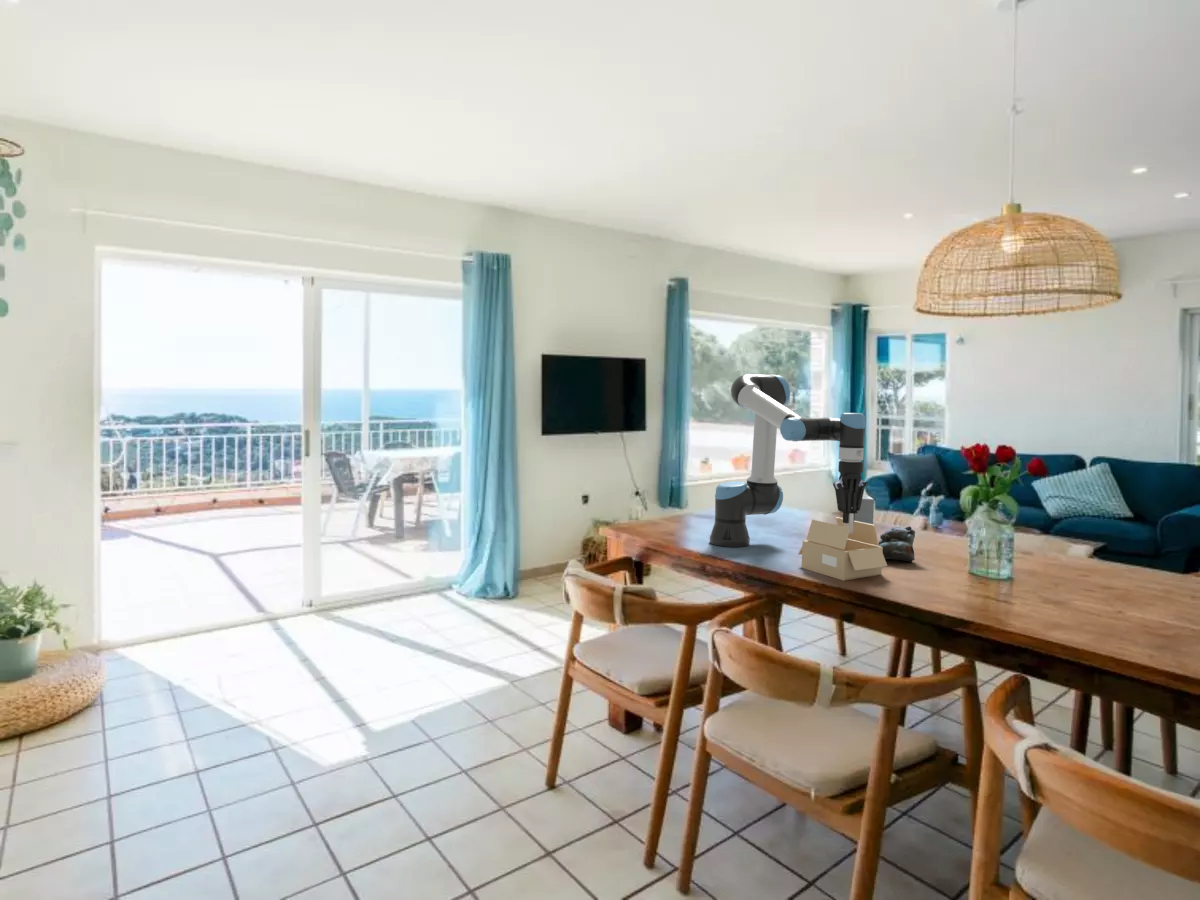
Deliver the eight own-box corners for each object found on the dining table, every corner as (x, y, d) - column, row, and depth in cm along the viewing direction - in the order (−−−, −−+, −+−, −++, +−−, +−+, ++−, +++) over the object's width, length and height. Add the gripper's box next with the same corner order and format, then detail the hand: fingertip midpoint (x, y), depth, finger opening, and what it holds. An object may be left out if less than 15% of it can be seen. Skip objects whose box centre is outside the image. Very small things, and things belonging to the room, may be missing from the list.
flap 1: (807, 540, 232) (806, 539, 232) (812, 519, 233) (812, 519, 232) (844, 549, 218) (843, 549, 218) (850, 528, 219) (849, 527, 218)
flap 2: (877, 545, 225) (878, 545, 225) (874, 525, 224) (874, 525, 224) (839, 536, 239) (840, 536, 239) (836, 517, 237) (836, 517, 238)
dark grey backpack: (863, 558, 248) (868, 521, 253) (887, 569, 252) (892, 532, 257) (898, 554, 235) (902, 515, 240) (923, 566, 239) (927, 527, 244)
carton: (794, 565, 236) (795, 538, 235) (831, 560, 244) (832, 534, 243) (851, 583, 215) (852, 554, 214) (890, 577, 222) (891, 549, 222)
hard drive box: (872, 554, 255) (874, 499, 254) (850, 552, 257) (852, 498, 255) (865, 545, 270) (867, 493, 269) (844, 544, 272) (846, 492, 270)
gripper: (845, 462, 221) (842, 536, 223) (874, 461, 227) (871, 533, 229) (827, 460, 228) (824, 532, 230) (856, 459, 234) (853, 529, 236)
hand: (848, 532), depth 229 cm, fingers closed
